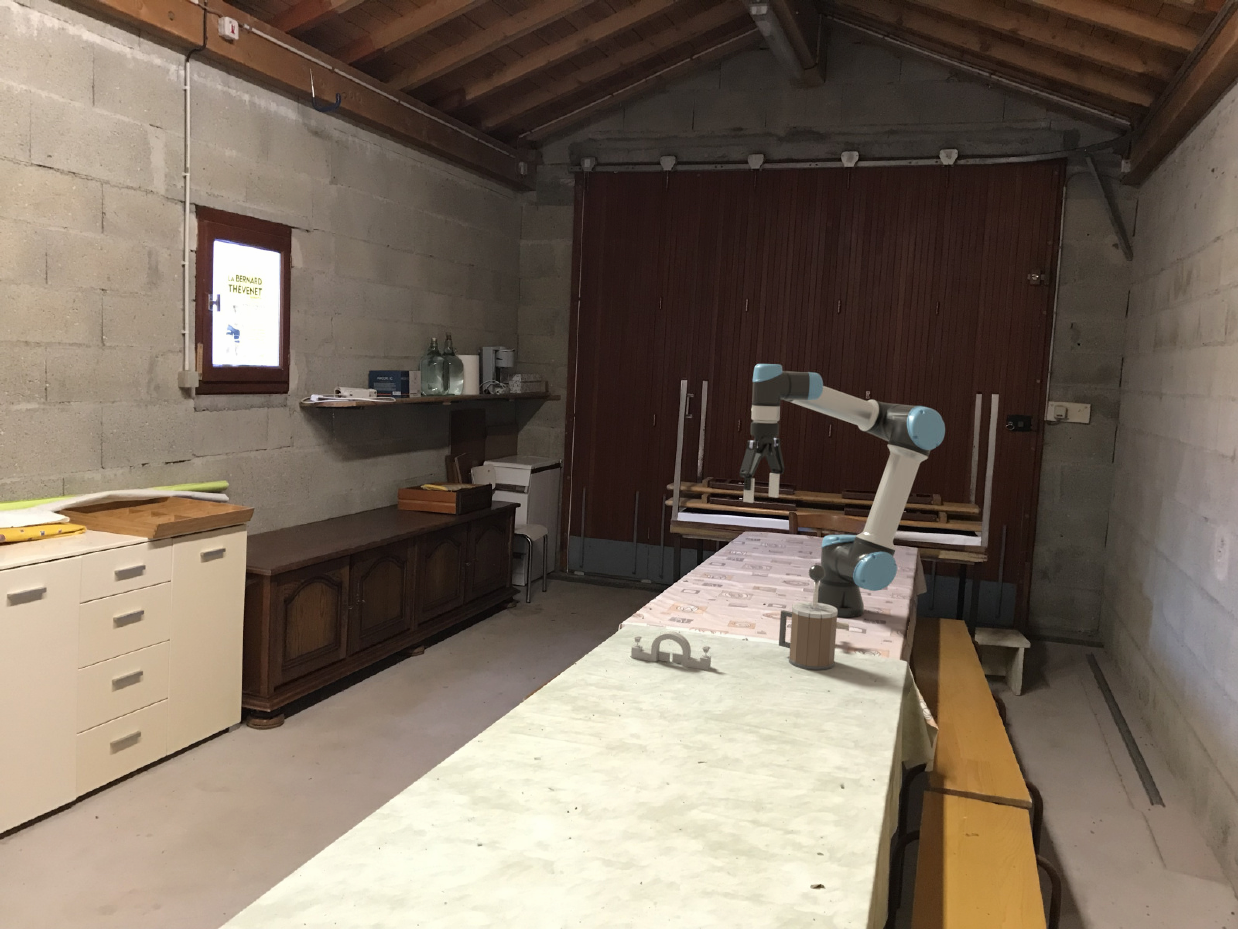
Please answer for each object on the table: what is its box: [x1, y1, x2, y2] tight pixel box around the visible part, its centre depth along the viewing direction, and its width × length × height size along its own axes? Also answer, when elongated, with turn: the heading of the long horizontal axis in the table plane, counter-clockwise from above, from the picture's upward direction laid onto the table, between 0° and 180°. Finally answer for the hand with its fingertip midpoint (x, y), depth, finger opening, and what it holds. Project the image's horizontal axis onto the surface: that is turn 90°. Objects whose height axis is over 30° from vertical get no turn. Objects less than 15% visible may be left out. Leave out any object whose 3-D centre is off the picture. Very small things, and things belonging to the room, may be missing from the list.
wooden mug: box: [778, 601, 838, 671], centre depth 237 cm, size 11×14×14 cm
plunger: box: [808, 564, 825, 610], centre depth 236 cm, size 8×8×22 cm
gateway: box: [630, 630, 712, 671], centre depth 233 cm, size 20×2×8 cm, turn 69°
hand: (761, 499), depth 259 cm, fingers open, 13 cm apart
